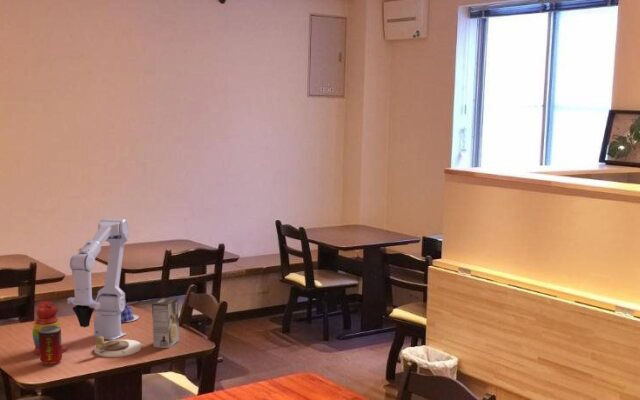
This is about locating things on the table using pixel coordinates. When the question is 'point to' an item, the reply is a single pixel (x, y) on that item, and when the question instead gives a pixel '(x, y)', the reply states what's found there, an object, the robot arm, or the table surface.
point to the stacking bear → (45, 321)
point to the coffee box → (165, 322)
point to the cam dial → (110, 344)
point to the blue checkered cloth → (128, 315)
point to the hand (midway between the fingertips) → (84, 326)
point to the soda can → (50, 345)
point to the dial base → (131, 349)
